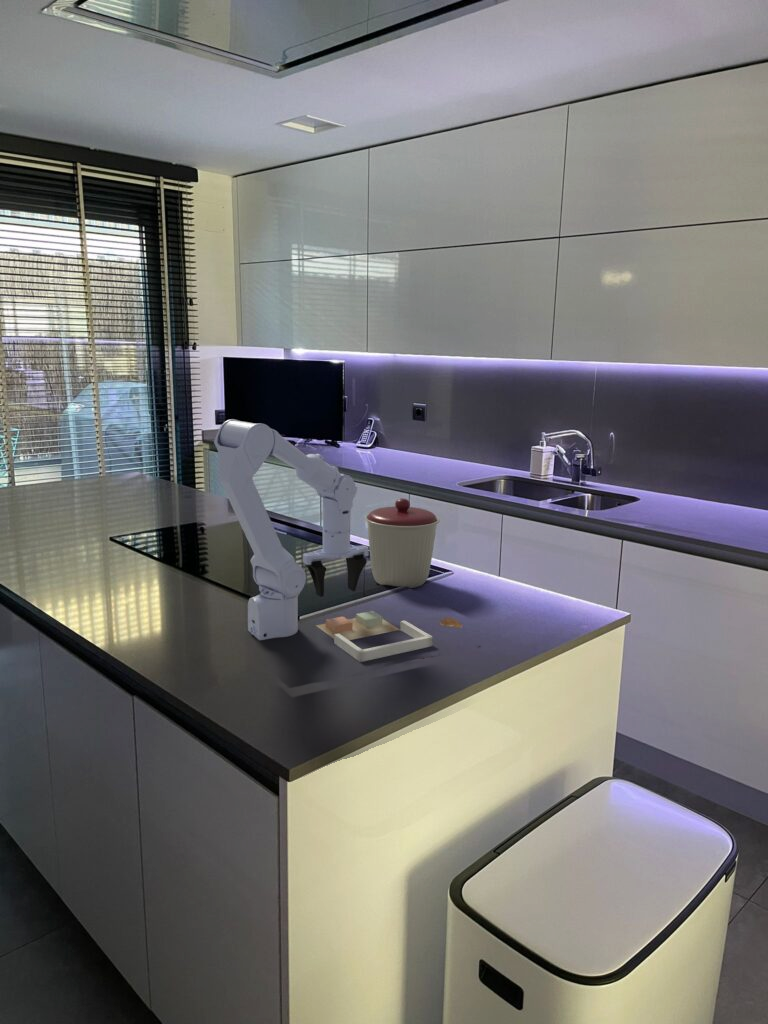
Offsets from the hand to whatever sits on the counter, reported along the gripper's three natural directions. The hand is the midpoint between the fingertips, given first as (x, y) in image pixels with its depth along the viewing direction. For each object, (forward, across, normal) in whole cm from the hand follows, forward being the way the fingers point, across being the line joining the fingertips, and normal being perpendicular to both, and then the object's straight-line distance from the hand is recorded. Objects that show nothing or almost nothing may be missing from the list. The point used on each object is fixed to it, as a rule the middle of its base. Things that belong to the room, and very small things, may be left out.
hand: (336, 592), depth 164 cm
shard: (+7, +18, -14) cm, 24 cm away
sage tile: (+5, +3, -8) cm, 10 cm away
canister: (+6, +25, +14) cm, 30 cm away
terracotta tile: (+4, -4, -8) cm, 10 cm away
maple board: (+6, 0, -10) cm, 11 cm away
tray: (+6, 0, -19) cm, 20 cm away
